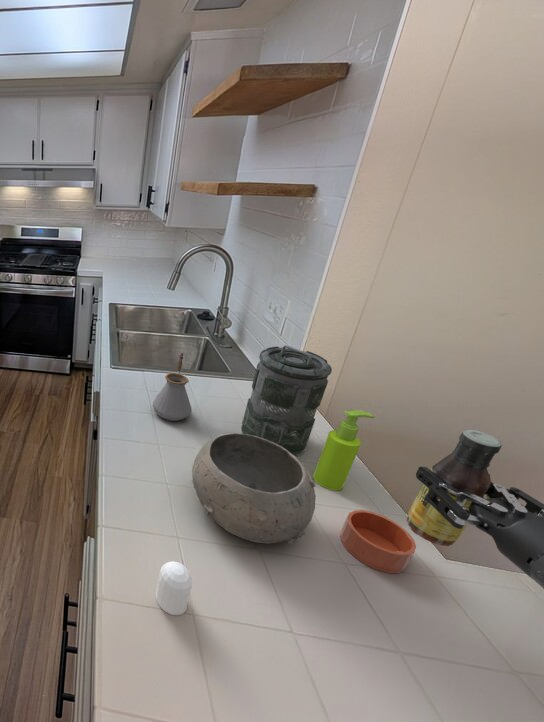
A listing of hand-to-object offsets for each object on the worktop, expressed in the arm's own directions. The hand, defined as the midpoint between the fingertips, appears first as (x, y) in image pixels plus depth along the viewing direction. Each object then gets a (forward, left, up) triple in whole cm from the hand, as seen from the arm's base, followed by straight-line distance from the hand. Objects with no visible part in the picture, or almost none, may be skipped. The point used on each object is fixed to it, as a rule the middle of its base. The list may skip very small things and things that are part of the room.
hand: (441, 471), depth 62 cm
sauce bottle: (-1, +2, -11) cm, 11 cm away
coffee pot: (+49, -36, -25) cm, 65 cm away
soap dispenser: (+8, -23, -25) cm, 34 cm away
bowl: (+25, -1, -25) cm, 35 cm away
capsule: (+33, +27, -25) cm, 49 cm away
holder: (+2, -5, -24) cm, 25 cm away
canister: (+21, -34, -25) cm, 47 cm away
